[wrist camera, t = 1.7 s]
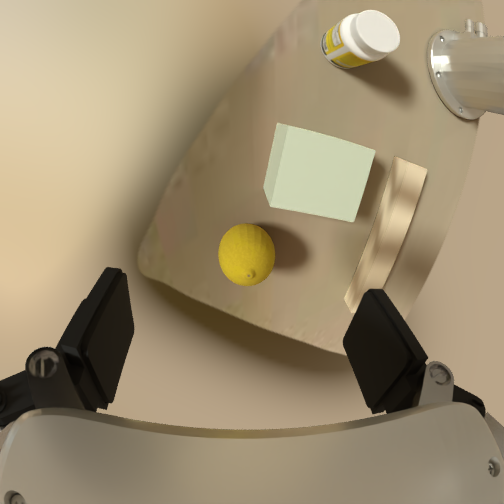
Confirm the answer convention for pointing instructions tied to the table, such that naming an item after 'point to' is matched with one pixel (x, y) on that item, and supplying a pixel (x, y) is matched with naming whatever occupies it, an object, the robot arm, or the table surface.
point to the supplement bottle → (360, 39)
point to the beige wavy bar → (387, 229)
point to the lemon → (246, 254)
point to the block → (316, 173)
